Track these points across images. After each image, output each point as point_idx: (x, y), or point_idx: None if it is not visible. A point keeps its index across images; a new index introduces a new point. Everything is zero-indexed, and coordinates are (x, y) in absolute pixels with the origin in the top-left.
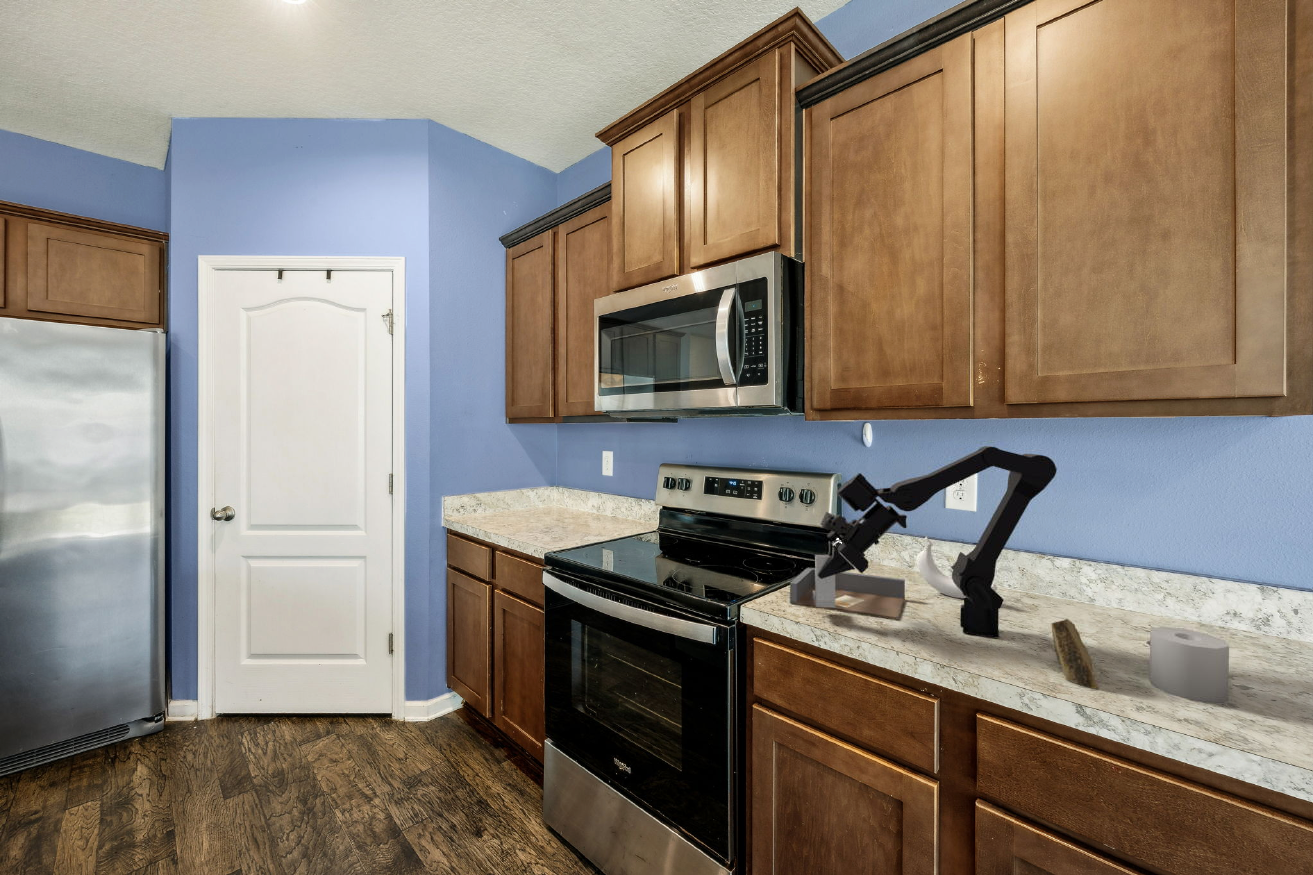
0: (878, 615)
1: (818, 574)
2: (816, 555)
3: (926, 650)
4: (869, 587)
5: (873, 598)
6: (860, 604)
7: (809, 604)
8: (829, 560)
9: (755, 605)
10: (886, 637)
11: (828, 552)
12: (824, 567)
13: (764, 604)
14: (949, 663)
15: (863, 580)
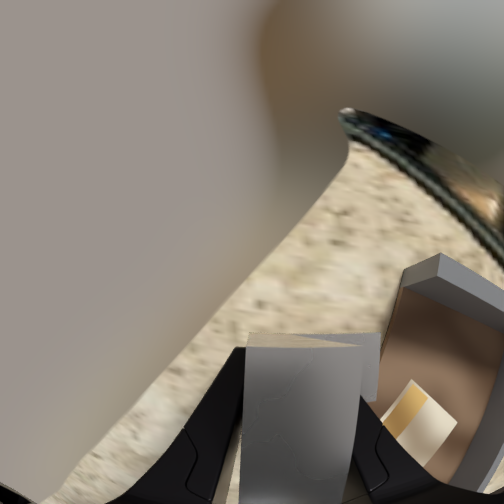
0: None
1: (233, 349)
2: (327, 358)
3: (99, 499)
4: (466, 473)
5: None
6: None
7: (391, 325)
8: (194, 464)
9: (364, 173)
10: None
11: (425, 475)
12: (202, 400)
13: (379, 196)
14: (59, 493)
15: (483, 464)
